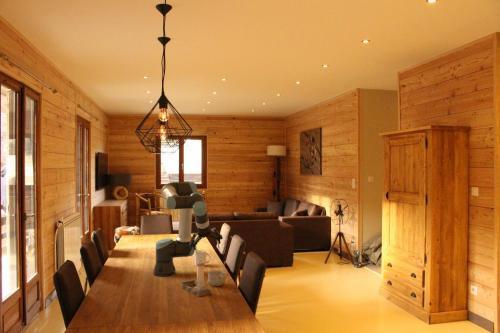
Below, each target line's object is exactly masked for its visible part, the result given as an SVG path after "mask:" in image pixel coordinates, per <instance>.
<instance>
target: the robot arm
mask: <svg viewBox="0 0 500 333" xmlns="http://www.w3.org/2000/svg"><path fill="white" fill-rule="evenodd" d="M160 195H161V197H162V199H164V200H165V209H167V210H172V211H173V210H179V213H178V217H179V218H178V219H179V220H178V235H177V236H176V238H175V240H174V239H173V238H163V239H160V240H158V241H156V243H155V249H154V250H155V264H154V266H153V270H152V271H153V273H152V274H153V275H154V276H157V277H168V276H169V277H170V276H173V275H175V274H176V273H177V272H176V267H175V264H174V259H175V258H188V257H193V255H194V252H195V251H196V254H197V255H198V252H197V250H198V248H197V245H198V243H199V242H200V241H201V240H202V239H205V238H213V239H215V240H216V243H217V245H216V246H217V248H218V250H220V245H221V240H223V239H224V238H223V235H222V234H221V233H220V232H219V231H218V230H217V229H216V226H213V227H212V228H211V226H210V221H209V214H208V208H207V204H206V203H205V199H204V197H203V194H202V193H201V192H199V191H198V187H197V184H196V183H195V182H194V181H172V182H168V183H166V184H164V185H163V186H162V187H161V189H160ZM193 215H194V218H195V225H196V229H197V232H192V224H193V223H192V222H193V220H192V219H193Z"/></svg>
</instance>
